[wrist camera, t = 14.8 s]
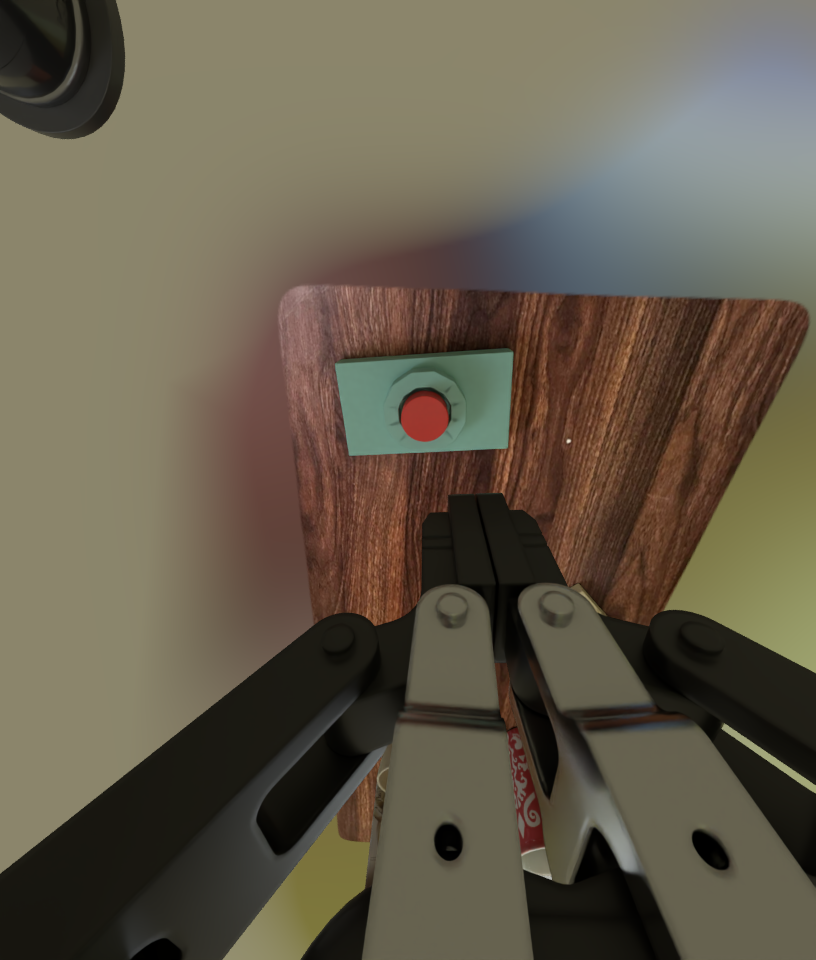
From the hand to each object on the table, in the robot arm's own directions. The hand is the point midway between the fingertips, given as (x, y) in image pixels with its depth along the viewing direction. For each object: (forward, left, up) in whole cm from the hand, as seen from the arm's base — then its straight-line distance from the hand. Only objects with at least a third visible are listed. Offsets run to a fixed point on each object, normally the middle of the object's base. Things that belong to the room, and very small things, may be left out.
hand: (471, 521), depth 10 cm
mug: (+11, -53, -23) cm, 59 cm away
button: (-2, -2, -19) cm, 19 cm away
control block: (-2, -2, -23) cm, 23 cm away
